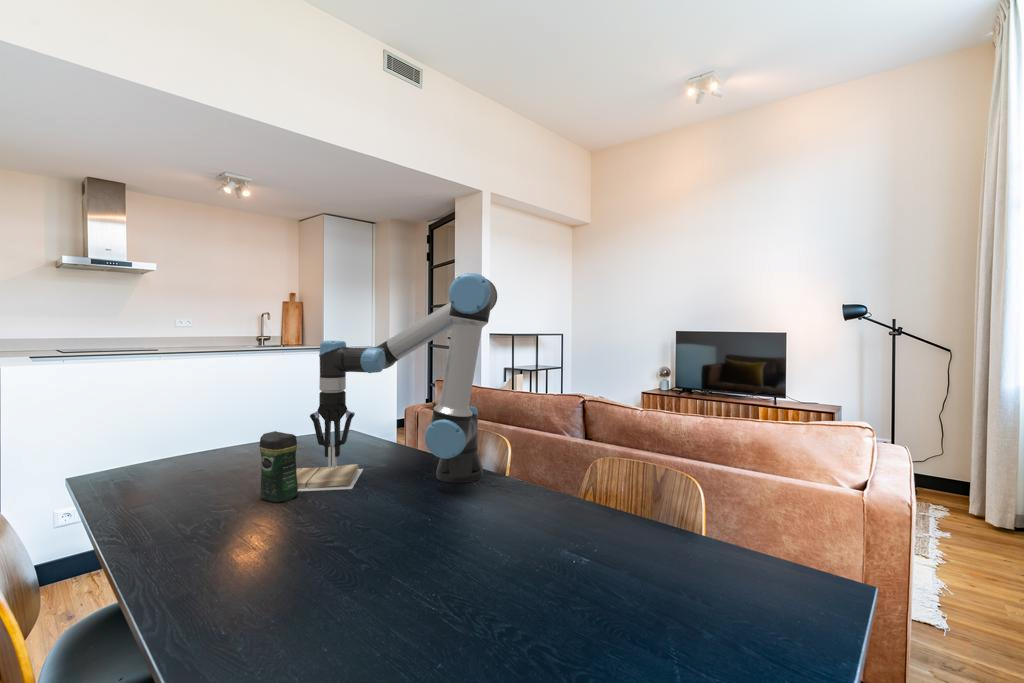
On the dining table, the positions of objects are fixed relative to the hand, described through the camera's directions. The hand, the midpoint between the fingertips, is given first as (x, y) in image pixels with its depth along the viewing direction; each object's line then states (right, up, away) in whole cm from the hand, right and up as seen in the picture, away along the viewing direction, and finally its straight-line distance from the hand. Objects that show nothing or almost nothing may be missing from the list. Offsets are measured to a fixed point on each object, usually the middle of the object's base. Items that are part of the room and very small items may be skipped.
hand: (332, 467), depth 143 cm
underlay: (-6, -5, +3) cm, 9 cm away
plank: (-1, -5, +4) cm, 6 cm away
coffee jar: (-10, -6, -12) cm, 17 cm away
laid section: (-13, -5, +2) cm, 14 cm away
